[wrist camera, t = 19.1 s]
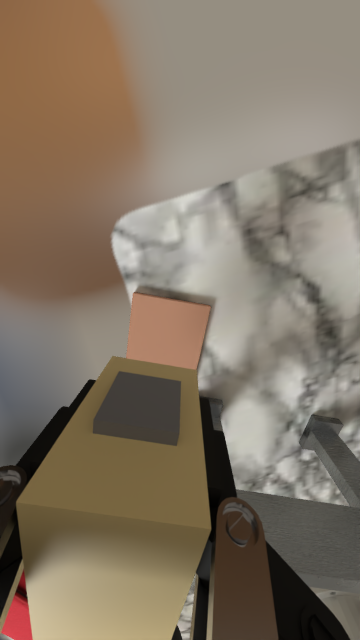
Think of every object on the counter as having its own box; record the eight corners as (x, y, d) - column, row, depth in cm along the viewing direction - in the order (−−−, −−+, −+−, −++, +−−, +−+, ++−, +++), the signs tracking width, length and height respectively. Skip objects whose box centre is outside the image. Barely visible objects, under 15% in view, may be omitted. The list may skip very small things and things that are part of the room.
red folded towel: (-2, 541, 33) (-25, 577, 29) (163, 646, 43) (161, 682, 39) (-58, 573, 36) (-85, 608, 33) (106, 663, 46) (100, 698, 42)
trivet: (210, 305, 19) (210, 307, 19) (183, 424, 24) (182, 428, 23) (134, 292, 19) (133, 293, 19) (121, 414, 24) (119, 418, 23)
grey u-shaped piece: (338, 419, 23) (486, 584, 12) (324, 446, 24) (445, 618, 13) (194, 395, 23) (202, 543, 11) (187, 424, 24) (188, 584, 13)
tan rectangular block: (198, 360, 10) (216, 514, 4) (160, 524, 14) (143, 715, 8) (113, 346, 10) (13, 485, 4) (99, 516, 14) (40, 704, 8)
